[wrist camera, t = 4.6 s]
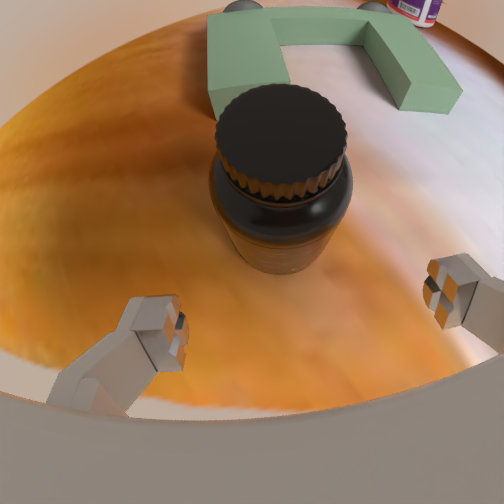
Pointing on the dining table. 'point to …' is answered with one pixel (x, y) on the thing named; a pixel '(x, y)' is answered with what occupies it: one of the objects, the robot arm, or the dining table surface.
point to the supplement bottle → (280, 175)
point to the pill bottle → (416, 10)
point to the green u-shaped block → (323, 32)
